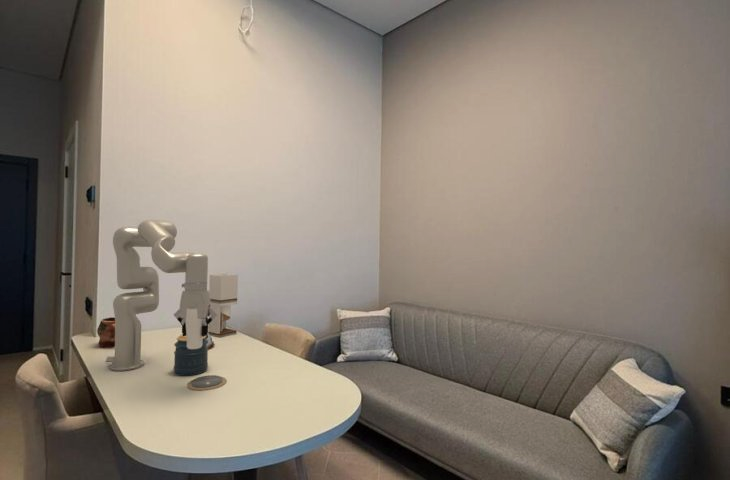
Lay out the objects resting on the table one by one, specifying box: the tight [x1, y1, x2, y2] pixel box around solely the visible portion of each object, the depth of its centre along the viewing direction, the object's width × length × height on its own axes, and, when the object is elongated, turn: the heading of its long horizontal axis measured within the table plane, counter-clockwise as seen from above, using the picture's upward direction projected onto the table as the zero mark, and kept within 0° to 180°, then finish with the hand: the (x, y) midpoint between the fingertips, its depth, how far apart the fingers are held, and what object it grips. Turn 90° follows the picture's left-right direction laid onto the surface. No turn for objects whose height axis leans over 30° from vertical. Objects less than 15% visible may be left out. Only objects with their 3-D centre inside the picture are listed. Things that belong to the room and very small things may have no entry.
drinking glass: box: [185, 308, 203, 349], centre depth 140 cm, size 7×7×15 cm
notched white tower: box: [208, 273, 239, 338], centre depth 222 cm, size 11×11×35 cm
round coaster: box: [186, 374, 228, 391], centre depth 144 cm, size 14×14×1 cm
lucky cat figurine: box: [205, 333, 215, 350], centre depth 191 cm, size 15×12×14 cm
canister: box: [173, 333, 209, 377], centre depth 158 cm, size 13×13×18 cm
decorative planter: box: [96, 316, 115, 349], centre depth 193 cm, size 20×12×14 cm, turn 50°
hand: (194, 335), depth 140 cm, fingers closed on drinking glass, 6 cm apart
